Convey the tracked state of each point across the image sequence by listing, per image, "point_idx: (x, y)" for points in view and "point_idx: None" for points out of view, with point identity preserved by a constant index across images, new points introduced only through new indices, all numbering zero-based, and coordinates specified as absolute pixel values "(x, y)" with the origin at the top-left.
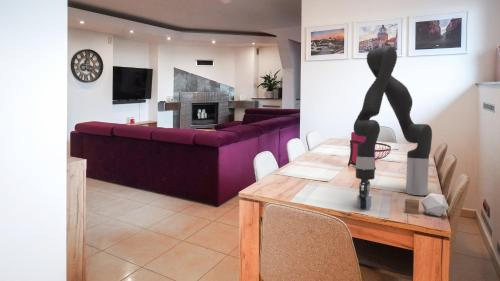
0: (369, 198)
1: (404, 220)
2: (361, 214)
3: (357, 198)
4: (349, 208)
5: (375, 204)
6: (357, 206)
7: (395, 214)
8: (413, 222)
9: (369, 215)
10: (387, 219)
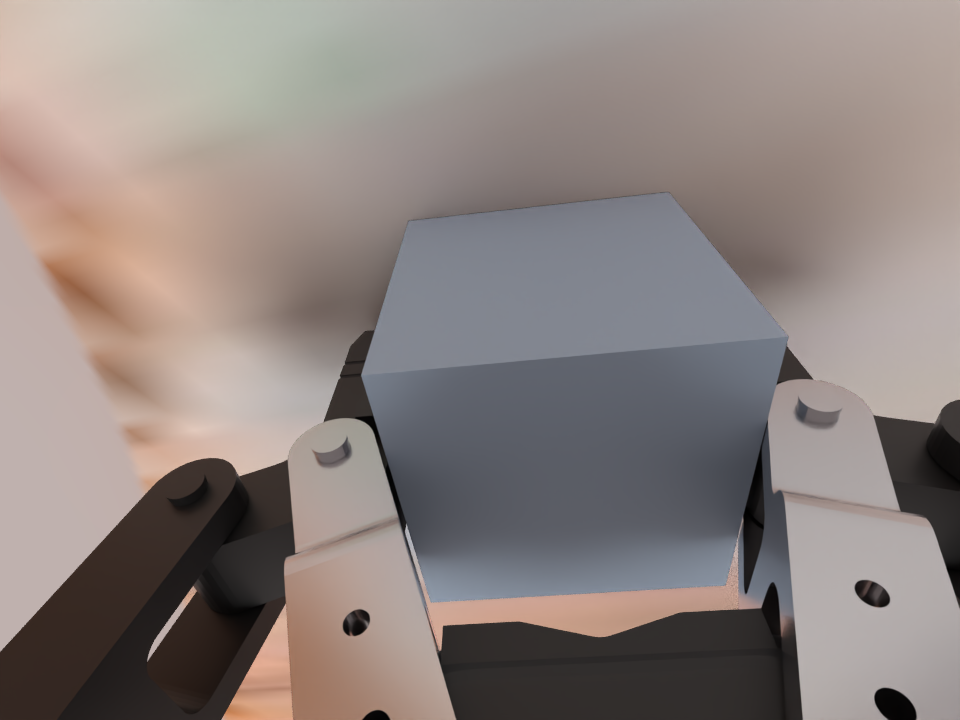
0: (431, 592)
1: (286, 677)
2: (97, 374)
3: (368, 353)
4: (311, 64)
5: (925, 409)
6: (405, 250)
7: (449, 624)
8: (283, 711)
9: (158, 461)
10: (183, 601)
